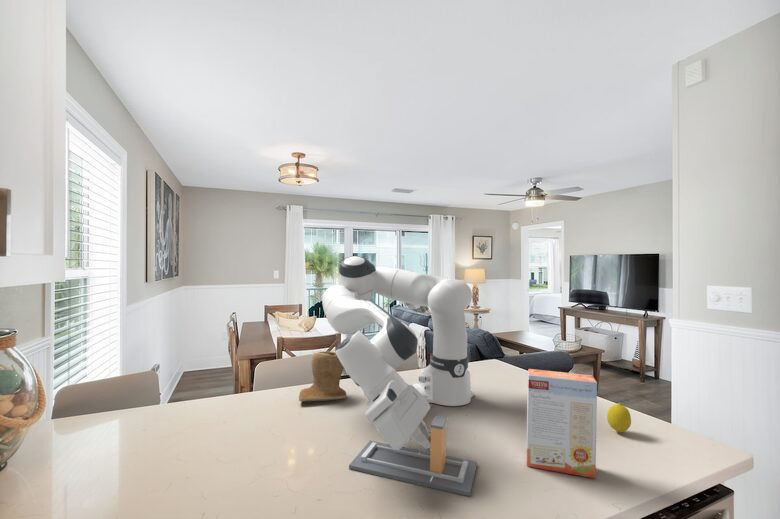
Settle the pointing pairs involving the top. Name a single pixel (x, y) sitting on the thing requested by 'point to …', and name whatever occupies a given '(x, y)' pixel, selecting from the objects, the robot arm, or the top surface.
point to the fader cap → (438, 444)
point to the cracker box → (562, 422)
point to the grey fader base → (415, 467)
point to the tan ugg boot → (324, 378)
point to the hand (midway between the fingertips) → (430, 444)
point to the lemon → (619, 417)
